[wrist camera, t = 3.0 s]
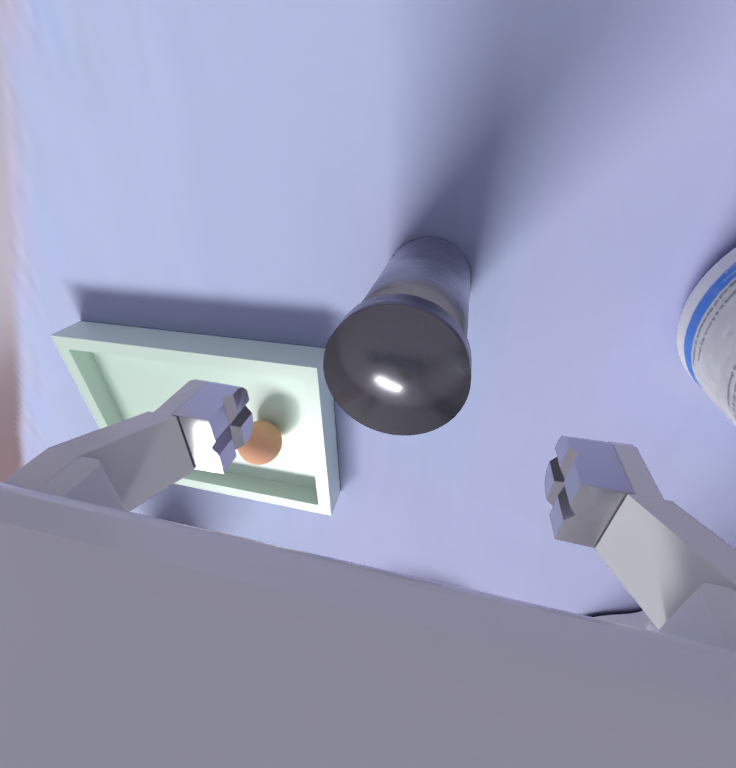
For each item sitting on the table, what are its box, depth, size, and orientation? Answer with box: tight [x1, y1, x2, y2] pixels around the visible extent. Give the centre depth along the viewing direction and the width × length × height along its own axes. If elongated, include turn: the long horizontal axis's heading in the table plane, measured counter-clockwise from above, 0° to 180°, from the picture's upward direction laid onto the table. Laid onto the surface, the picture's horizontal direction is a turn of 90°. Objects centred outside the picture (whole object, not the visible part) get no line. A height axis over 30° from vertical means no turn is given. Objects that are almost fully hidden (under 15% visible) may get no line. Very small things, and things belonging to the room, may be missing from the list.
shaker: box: [323, 237, 472, 435], centre depth 17 cm, size 5×5×10 cm
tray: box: [51, 321, 340, 516], centre depth 30 cm, size 20×14×2 cm
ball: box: [237, 421, 282, 465], centre depth 28 cm, size 3×3×3 cm
